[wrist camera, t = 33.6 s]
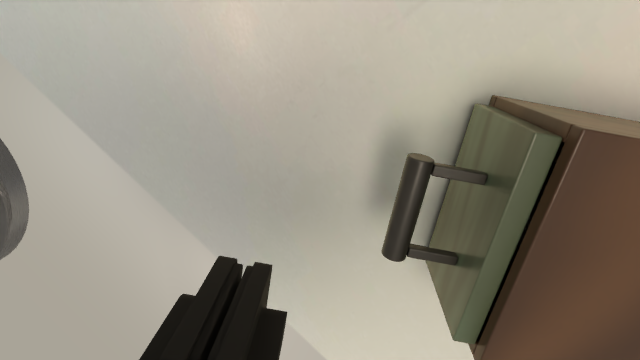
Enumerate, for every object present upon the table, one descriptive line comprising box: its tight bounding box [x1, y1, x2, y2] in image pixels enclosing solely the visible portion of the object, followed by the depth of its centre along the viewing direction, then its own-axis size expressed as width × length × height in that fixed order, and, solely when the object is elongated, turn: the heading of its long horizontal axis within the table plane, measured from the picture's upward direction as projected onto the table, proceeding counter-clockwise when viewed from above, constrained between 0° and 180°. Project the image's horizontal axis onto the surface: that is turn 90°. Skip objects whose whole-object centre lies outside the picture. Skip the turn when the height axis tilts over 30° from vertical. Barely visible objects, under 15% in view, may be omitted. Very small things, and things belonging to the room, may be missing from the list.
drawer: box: [382, 104, 564, 344], centre depth 21 cm, size 18×11×8 cm, turn 80°
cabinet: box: [468, 95, 640, 360], centre depth 20 cm, size 15×13×10 cm
